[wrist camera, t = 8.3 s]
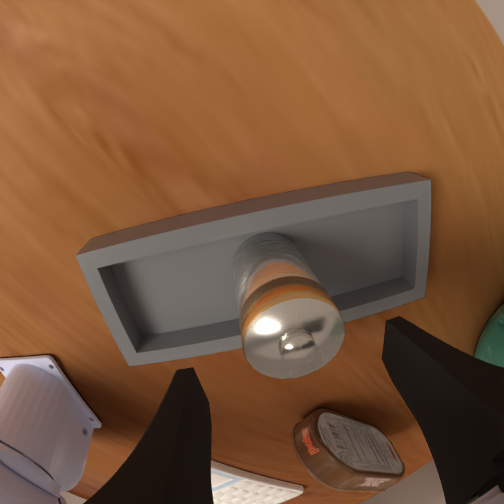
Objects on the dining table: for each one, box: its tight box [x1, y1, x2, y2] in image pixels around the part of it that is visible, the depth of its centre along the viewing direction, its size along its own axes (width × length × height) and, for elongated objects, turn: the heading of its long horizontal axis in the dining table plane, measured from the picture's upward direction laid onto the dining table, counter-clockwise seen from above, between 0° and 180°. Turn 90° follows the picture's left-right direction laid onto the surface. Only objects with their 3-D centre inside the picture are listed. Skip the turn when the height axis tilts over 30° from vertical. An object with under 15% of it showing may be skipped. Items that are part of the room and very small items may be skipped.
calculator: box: [211, 460, 304, 504], centre depth 31 cm, size 13×20×2 cm, turn 45°
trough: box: [76, 172, 431, 366], centre depth 18 cm, size 8×20×2 cm, turn 101°
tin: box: [292, 408, 405, 492], centre depth 23 cm, size 15×3×8 cm, turn 50°
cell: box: [233, 232, 345, 379], centre depth 14 cm, size 4×4×8 cm
